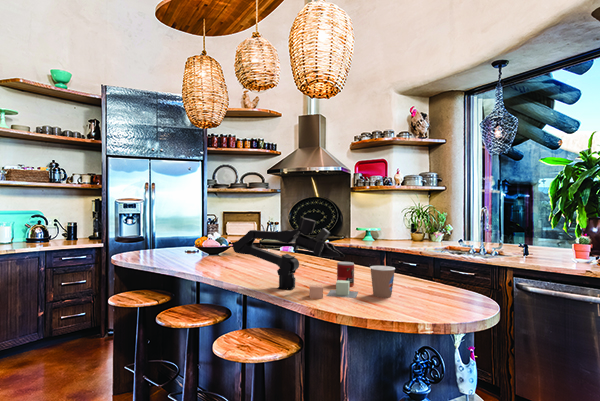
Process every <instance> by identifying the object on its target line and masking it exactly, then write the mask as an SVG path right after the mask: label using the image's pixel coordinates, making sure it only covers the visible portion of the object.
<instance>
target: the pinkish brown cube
mask: <svg viewBox="0 0 600 401" xmlns="http://www.w3.org/2000/svg"><path fill="white" fill-rule="evenodd" d="M308 292H309V293H308V294H309V299H322V300H323V299H324V287H323V285H322V284H309V291H308Z"/></svg>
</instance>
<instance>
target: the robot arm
mask: <svg viewBox="0 0 600 401" xmlns="http://www.w3.org/2000/svg"><path fill="white" fill-rule="evenodd" d="M315 226H316V220H314V219H311V218H306V217H303V216H302V217H300V219H299V224H298V228H295V229H287V230H280V231H275V230H273V231H272V230H256V229H252V230H251V229H250V230H249V231H247V232H246V233H245V235H243V236H242V237H240V238H239V239H238V240H236V241H234V243H233V245H232V250H233V252H234V253H236V254H239V255H250V256H252V257H256V258H258V259H261V260H263V261H267V262H268V263H271V264H274V265H276V266H277V267H278V269H277V270H276V272H277V273H276V274H277V275H278V277H279V278H278V286H277V289H278V290H291V291H292V290H293V289H294V288H296V277H295V273H296V271H297V270H298V268H300V261H299V260H298V258H296V256H295V255H290V254H289V253H285V254H282V255H279V254H276V253H273V252H271V251H269V250H266V249H262V248H259V247H257V246H256V245H254V243H255V241H256V240H275V241H278V242H280V243H284V244H290V243H293V244H292V245H291V246H292V247H293V250H294V251H297V250H299V248H302V249H304V250H307V251H309V252H312V253H313V255H314V256H317V257H321V258H324V257H325V258H344V257H345V254H344V253H342V252H341V251H340V250H338V249H336V247H335V244H333V243H330V242H326V240H327V238H328V237H330V235H331V232H330V231H329V230H328V229H326V228H325V227H324V228H322V229H321V230H320V232H318V233H317V235H316V237H311V236H310V234H313V232H314V228H315Z"/></svg>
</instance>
